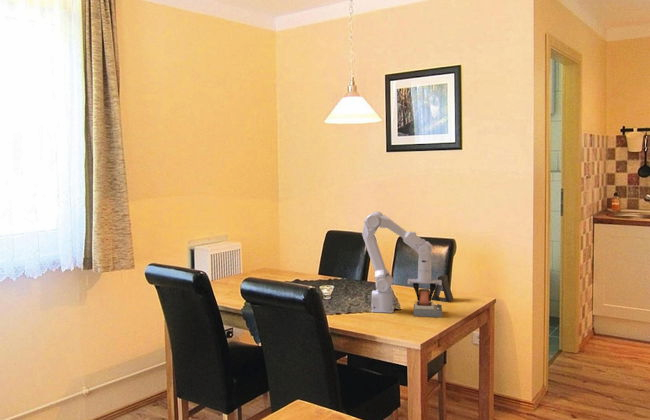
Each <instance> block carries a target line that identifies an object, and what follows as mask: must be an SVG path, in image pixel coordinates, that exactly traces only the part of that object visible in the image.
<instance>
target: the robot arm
mask: <svg viewBox="0 0 650 420" xmlns="http://www.w3.org/2000/svg"><path fill="white" fill-rule="evenodd" d="M378 228H380V229H387V230H389V231H391V232H393V233H394V234H396V235H398V236H399V237H401V238H402V241H403V243H405V244H406V245H408V246H409V247H410V248H411V249H412V250H414V251H416V252H417V255H418V261H417V278H408V279H407V285H412V288H413V289H414V291H415V294H416V301H419V290H420V285H429V290H430V298H429V301H430V302H432V300H431V299H432V296H433V294H434V291H435V288H436V286H437V285H442V280H438V279H434V278H432V265H433V264H432V263H433V262H432V261H433V259H432V252H433V245H432V243H430V241H426V239H424V238H421V237H420V236H419V235H417V233H416V232H415V231H407V230H405V229H404V228H402V227H401V226H400V225H399V224H397V223H396V222H395V221H394V220H392V219H391V218H390V217H389V216H387V215H386V214H383V213H382V212H380V211H373V212H372V213H370V214H369V215H367V216H366V217H365V219H364V220H363V227H362V232H361V236H362V238H363V241H364V244H365V247H366V250H367V253H368V256H369V258H370V261H371V264H372V267H373V269H374V279H375V288H376V289H375V290H372V291H371V310H370V311H371V312H372V313H387V314H388V313H390V314H392V313H394V309H395V307H394V306H393V303H394V301H393V300H394V295H393V293H394V290H393V284H394V278H393V276H392V275H391V274H390V273H389V270H388V269H387V268H386V266H385V262H384V258H383V257H382V256H383V255H382V253H381V251H380V247H379V245H378V242H377V238H376V235H375V234H376V233H377V230H378Z"/></svg>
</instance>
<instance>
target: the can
mask: <svg viewBox="0 0 650 420" xmlns="http://www.w3.org/2000/svg"><path fill="white" fill-rule="evenodd" d="M429 298H430V288H429V289H428V288H419V305H423V306H430V302H431V301H429Z"/></svg>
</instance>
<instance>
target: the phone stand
mask: <svg viewBox="0 0 650 420" xmlns="http://www.w3.org/2000/svg"><path fill="white" fill-rule="evenodd" d="M448 278H449V276H448V274H444V273H442V274H441V275H439V276H438V278H437V280H442V285H436V288H435V290H434V292H433V295H432V298H431V301H433V302H434V301H436V302H442V303H450V302H452V301H453V300H454V296H453V293H452V291H451V287H450V283H449V281H448V280H449V279H448ZM441 291H443V293H444V296H443V297H442V296H440V294H441Z"/></svg>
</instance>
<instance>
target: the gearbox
mask: <svg viewBox="0 0 650 420" xmlns="http://www.w3.org/2000/svg"><path fill="white" fill-rule="evenodd" d="M413 317H422V318H423V317H424V318H425V317H426V318H443V307H442V304H440V303H436V304H434V301H430V306H423V305H419V301H417V300H415V302H414V304H413Z"/></svg>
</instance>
